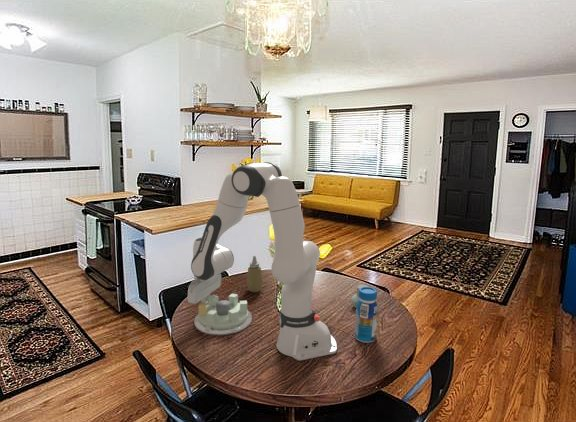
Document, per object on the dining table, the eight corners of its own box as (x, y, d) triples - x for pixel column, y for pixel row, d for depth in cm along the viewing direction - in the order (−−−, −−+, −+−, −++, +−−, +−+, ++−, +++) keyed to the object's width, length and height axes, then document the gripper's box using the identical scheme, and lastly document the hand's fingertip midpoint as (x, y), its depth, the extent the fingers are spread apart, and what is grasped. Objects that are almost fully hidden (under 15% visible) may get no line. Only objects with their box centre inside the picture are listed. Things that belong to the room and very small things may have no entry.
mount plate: (250, 305, 169) (250, 300, 168) (253, 333, 146) (253, 326, 145) (197, 308, 165) (196, 303, 165) (191, 337, 142) (191, 330, 142)
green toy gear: (246, 304, 167) (246, 291, 166) (249, 327, 147) (248, 313, 146) (200, 307, 164) (199, 294, 162) (196, 331, 144) (195, 316, 143)
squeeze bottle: (260, 286, 191) (260, 253, 187) (264, 292, 183) (264, 258, 180) (245, 288, 188) (244, 254, 185) (248, 294, 181) (248, 259, 177)
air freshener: (349, 310, 166) (350, 289, 164) (351, 302, 174) (352, 282, 172) (374, 313, 164) (375, 292, 162) (374, 304, 172) (376, 284, 170)
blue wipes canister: (350, 334, 146) (352, 287, 142) (368, 330, 149) (371, 284, 145) (361, 345, 138) (364, 296, 134) (380, 341, 141) (384, 292, 137)
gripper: (196, 284, 144) (197, 316, 147) (223, 267, 163) (224, 296, 166) (182, 281, 146) (184, 313, 149) (211, 265, 165) (212, 293, 168)
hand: (205, 304), depth 158 cm, fingers closed
